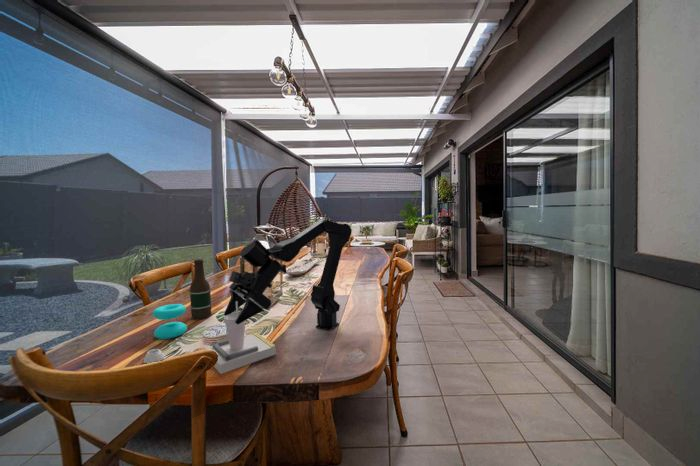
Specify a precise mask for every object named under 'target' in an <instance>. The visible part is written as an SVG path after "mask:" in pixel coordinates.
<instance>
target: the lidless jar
mask: <svg viewBox="0 0 700 466" xmlns="http://www.w3.org/2000/svg"><path fill="white" fill-rule="evenodd" d="M164 358H165V354H164V353H163V352H162V351H161V350H160V349H159V348H153V349H150V350H148V351H147V353H146V355H145V356H144V359H143V363H144V364H146V363H150V362H155V361H159V362H161V361H163V360H164Z"/></svg>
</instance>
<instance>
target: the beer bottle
mask: <svg viewBox="0 0 700 466" xmlns="http://www.w3.org/2000/svg"><path fill="white" fill-rule="evenodd" d="M193 264H194V268H193V269H194V276H193V280H192V282H191V283H190V286H189V297H190V313H191V318H192V320H198V319H199V320H203V319H208V318H209V317H211V316H212V300H211V299H212V298H211V288H210V287H211V285H210V283H209V282H208V280H207V279H206V276H205V271H204V260H203V259H194V260H193Z"/></svg>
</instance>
